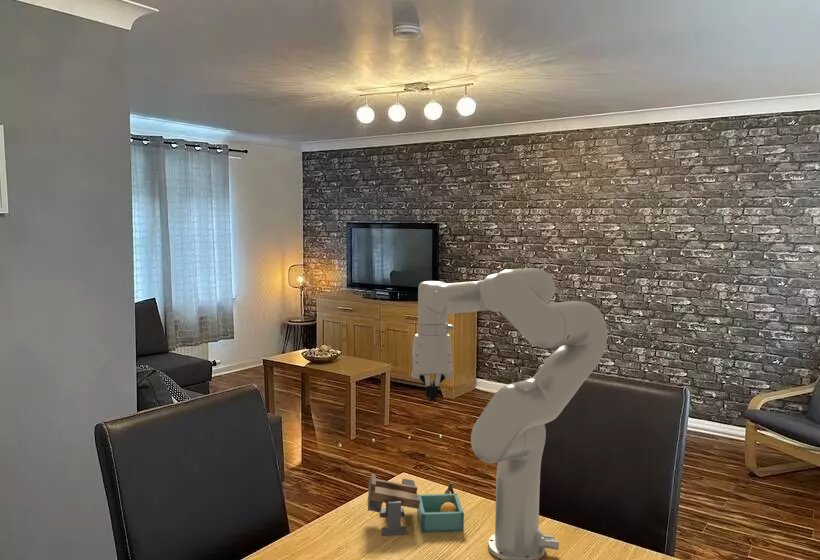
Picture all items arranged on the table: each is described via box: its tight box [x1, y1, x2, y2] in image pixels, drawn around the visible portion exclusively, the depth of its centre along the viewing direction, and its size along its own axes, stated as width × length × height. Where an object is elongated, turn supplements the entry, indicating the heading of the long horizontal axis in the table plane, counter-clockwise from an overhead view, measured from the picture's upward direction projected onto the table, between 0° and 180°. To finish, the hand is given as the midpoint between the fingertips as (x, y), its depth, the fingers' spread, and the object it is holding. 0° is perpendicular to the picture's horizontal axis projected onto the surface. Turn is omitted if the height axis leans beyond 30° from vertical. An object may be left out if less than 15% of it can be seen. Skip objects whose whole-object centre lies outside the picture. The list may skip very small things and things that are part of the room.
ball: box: [440, 502, 457, 512], centre depth 152 cm, size 4×4×4 cm
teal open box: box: [416, 493, 465, 534], centre depth 152 cm, size 10×11×4 cm
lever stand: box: [379, 501, 408, 537], centre depth 151 cm, size 6×12×8 cm, turn 5°
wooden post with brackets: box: [443, 481, 455, 494], centre depth 163 cm, size 2×8×4 cm, turn 151°
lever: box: [367, 473, 420, 513], centre depth 154 cm, size 12×14×6 cm
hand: (431, 399), depth 161 cm, fingers closed
